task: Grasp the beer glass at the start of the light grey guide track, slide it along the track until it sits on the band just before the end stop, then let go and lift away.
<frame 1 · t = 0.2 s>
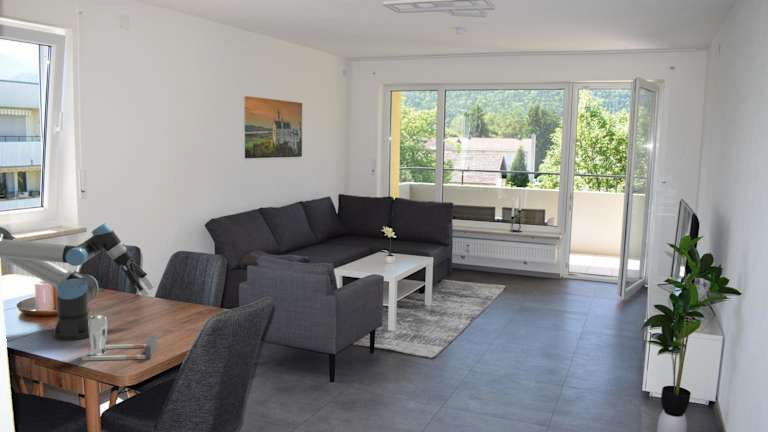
hand: (149, 292, 289), 15 cm above the table, tool tilted 35°, fingers open, 13 cm apart
guide track: (119, 353, 253), on the table
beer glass: (98, 354, 252), on the table
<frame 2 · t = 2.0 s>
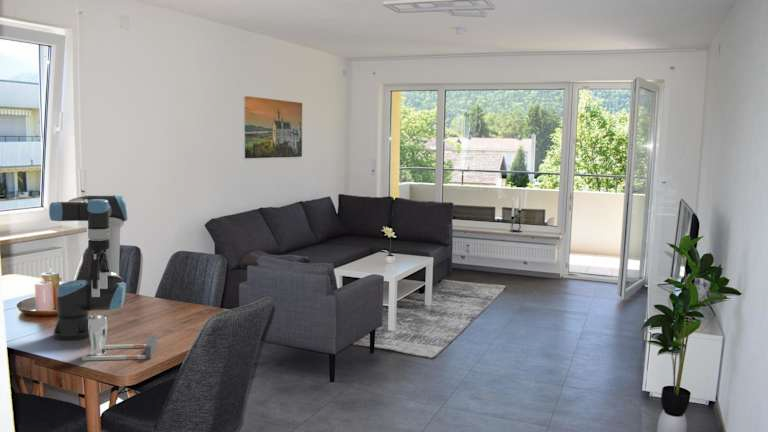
hand: (99, 292, 250), 25 cm above the table, tool pointing down, fingers open, 13 cm apart
nothing on the table moved.
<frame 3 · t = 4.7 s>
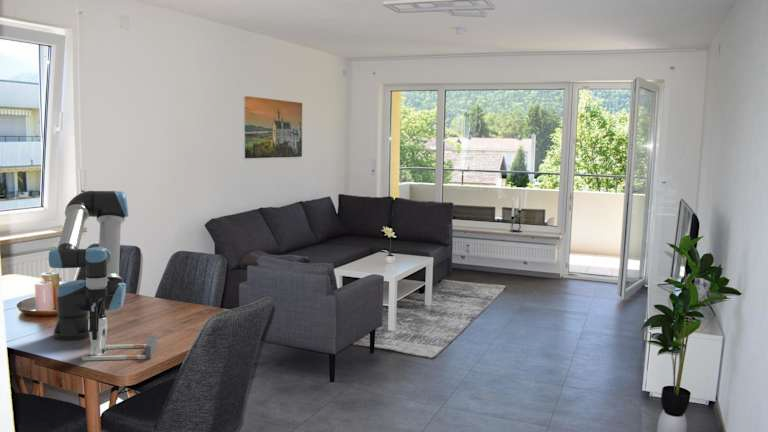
hand: (98, 344, 252), 4 cm above the table, tool pointing down, fingers closed on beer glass, 7 cm apart
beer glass: (98, 354, 252), on the table, touching gripper
when the fingers open (4 cm above the table, at t = 9.2 s): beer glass stays where it is, on the table.
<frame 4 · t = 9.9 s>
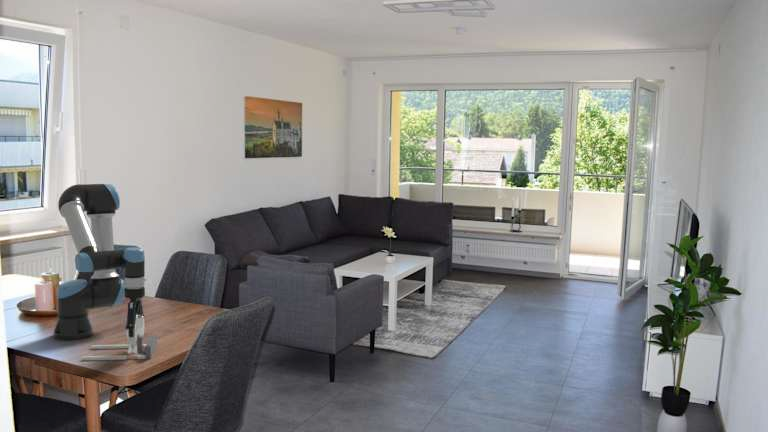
hand: (135, 339, 254), 6 cm above the table, tool pointing down, fingers open, 13 cm apart
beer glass: (135, 353, 255), on the table
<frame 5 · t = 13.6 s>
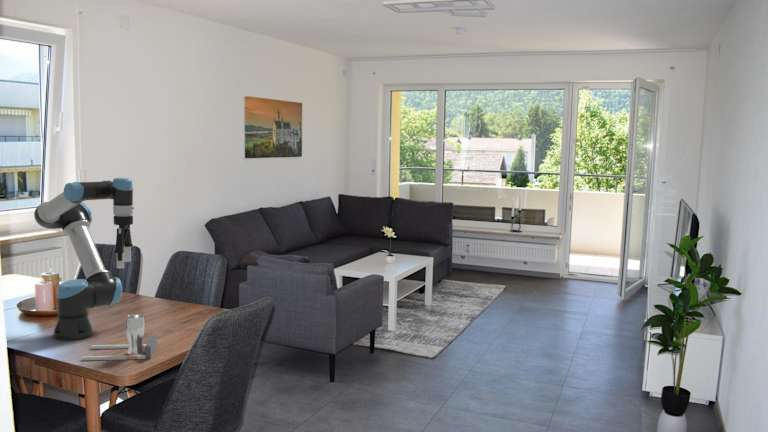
hand: (124, 265, 269), 32 cm above the table, tool pointing down, fingers open, 13 cm apart
nothing on the table moved.
at the end: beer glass 0.0 cm from the target spot, on the table; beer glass tilted 0°; the gripper is holding nothing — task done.
